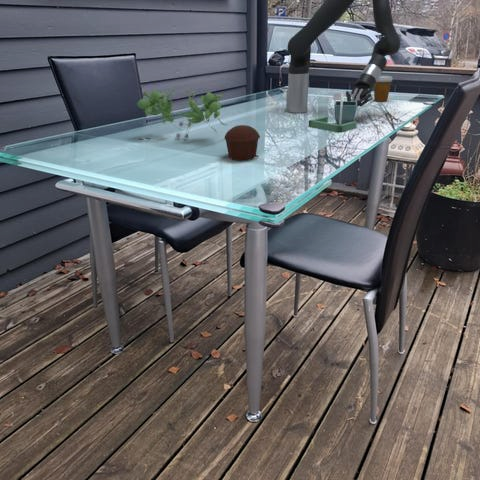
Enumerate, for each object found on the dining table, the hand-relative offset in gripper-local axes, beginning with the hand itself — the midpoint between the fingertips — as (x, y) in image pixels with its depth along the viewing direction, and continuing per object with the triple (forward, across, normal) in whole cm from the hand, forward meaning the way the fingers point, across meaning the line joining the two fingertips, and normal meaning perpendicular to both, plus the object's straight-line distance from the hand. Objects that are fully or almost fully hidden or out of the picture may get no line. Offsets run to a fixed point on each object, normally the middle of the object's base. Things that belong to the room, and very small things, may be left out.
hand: (349, 112), depth 191 cm
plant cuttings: (+45, -31, -39) cm, 68 cm away
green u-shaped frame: (+11, 0, -5) cm, 12 cm away
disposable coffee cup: (-34, -19, +41) cm, 56 cm away
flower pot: (+7, +2, 0) cm, 7 cm away
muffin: (+48, +5, -42) cm, 64 cm away
